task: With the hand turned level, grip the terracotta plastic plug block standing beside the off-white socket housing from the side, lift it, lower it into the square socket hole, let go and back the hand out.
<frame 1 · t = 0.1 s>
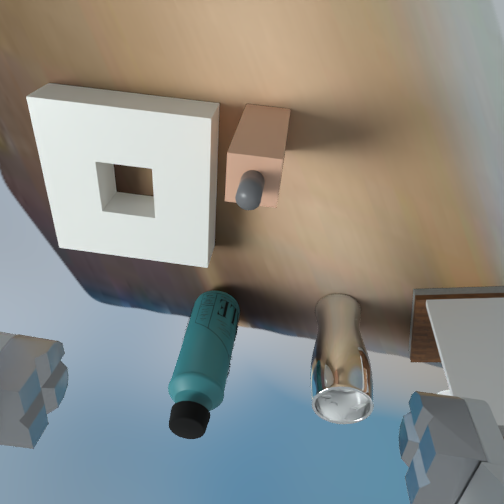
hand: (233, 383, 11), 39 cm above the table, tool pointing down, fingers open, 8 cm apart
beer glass: (337, 309, 61), on the table
display case: (452, 319, 60), on the table
plug: (266, 127, 47), on the table
socket: (139, 172, 52), on the table
beverage bottle: (220, 298, 62), on the table
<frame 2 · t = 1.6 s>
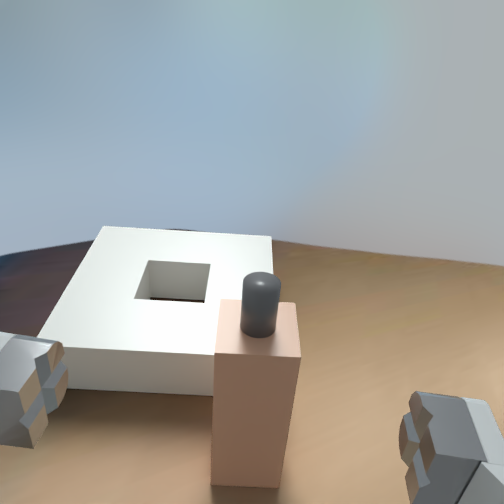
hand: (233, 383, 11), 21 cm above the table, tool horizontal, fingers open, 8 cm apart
plug: (245, 455, 32), on the table
socket: (175, 318, 43), on the table
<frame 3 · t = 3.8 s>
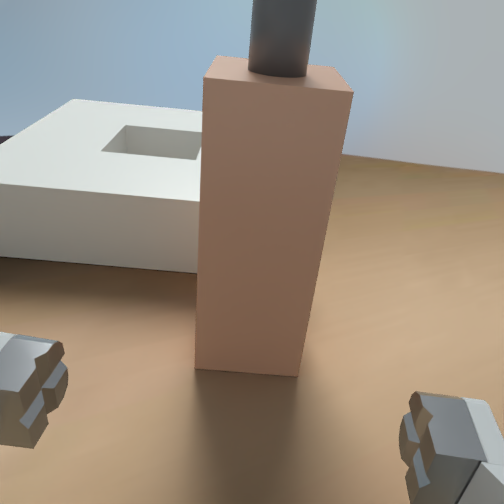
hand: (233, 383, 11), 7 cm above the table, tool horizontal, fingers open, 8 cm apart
plug: (247, 337, 22), on the table
socket: (159, 200, 33), on the table
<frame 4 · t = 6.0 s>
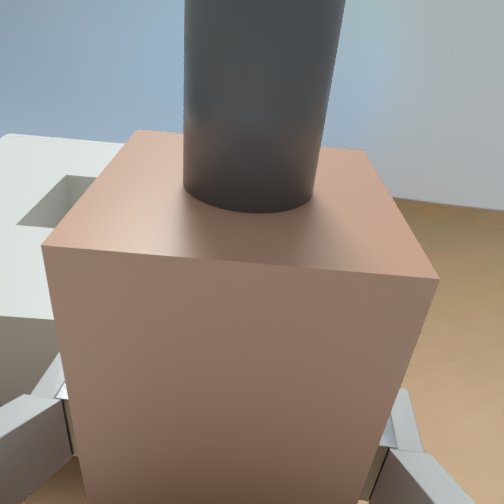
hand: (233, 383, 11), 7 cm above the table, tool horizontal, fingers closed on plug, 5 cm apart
socket: (110, 276, 25), on the table
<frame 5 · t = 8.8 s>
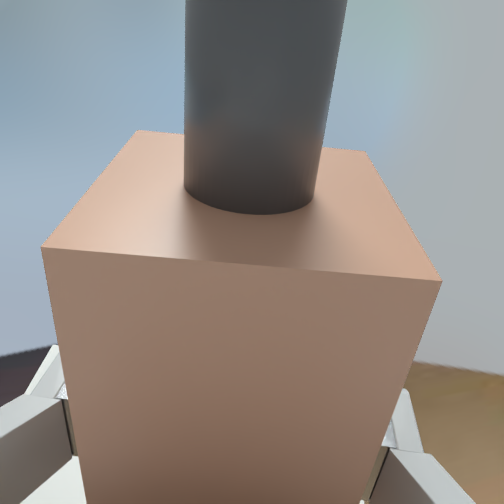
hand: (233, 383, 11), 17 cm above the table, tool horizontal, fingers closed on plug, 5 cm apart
when the fingers open (9 cm above the table, at t = 11.7 s): plug drops 2 cm, resting in socket.
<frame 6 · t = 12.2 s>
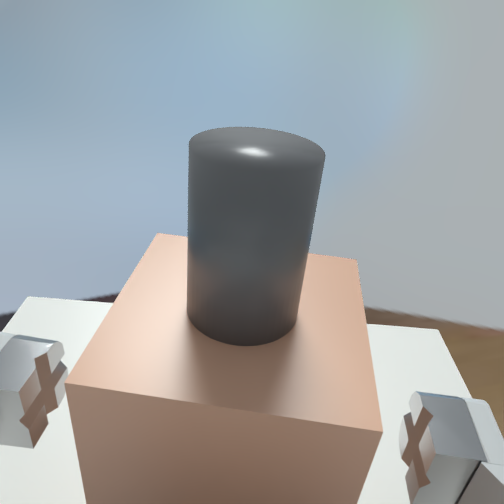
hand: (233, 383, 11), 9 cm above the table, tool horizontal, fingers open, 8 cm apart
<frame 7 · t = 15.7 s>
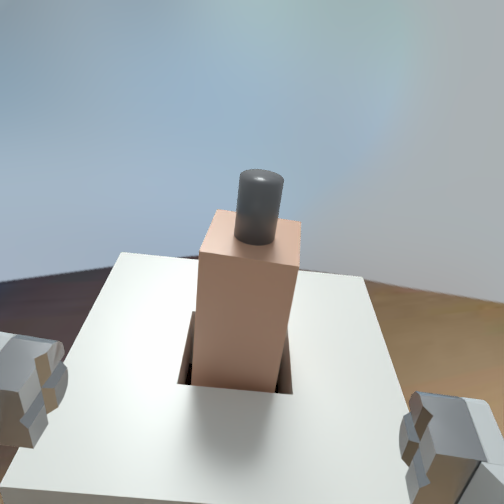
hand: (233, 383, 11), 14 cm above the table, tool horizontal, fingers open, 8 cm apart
plug: (232, 403, 28), resting in socket
socket: (230, 402, 28), on the table
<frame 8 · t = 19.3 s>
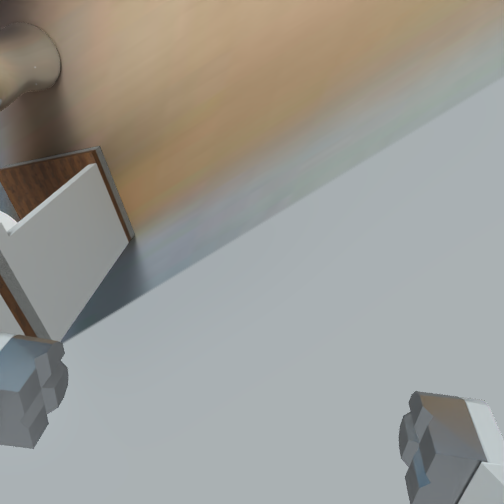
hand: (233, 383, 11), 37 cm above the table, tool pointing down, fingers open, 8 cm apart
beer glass: (31, 57, 44), on the table
display case: (73, 199, 51), on the table
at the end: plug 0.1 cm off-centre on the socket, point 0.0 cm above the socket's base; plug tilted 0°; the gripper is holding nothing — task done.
